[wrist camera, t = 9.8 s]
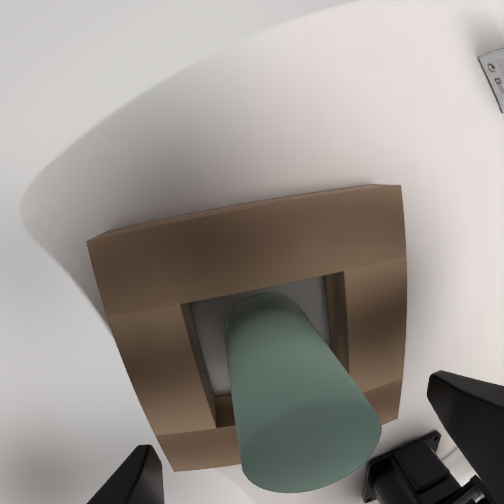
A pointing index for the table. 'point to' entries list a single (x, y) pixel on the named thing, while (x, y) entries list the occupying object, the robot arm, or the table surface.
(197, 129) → the table surface
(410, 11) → the table surface
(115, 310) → the walnut holder
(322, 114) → the table surface
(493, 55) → the skincare box
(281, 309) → the green peg
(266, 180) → the table surface
